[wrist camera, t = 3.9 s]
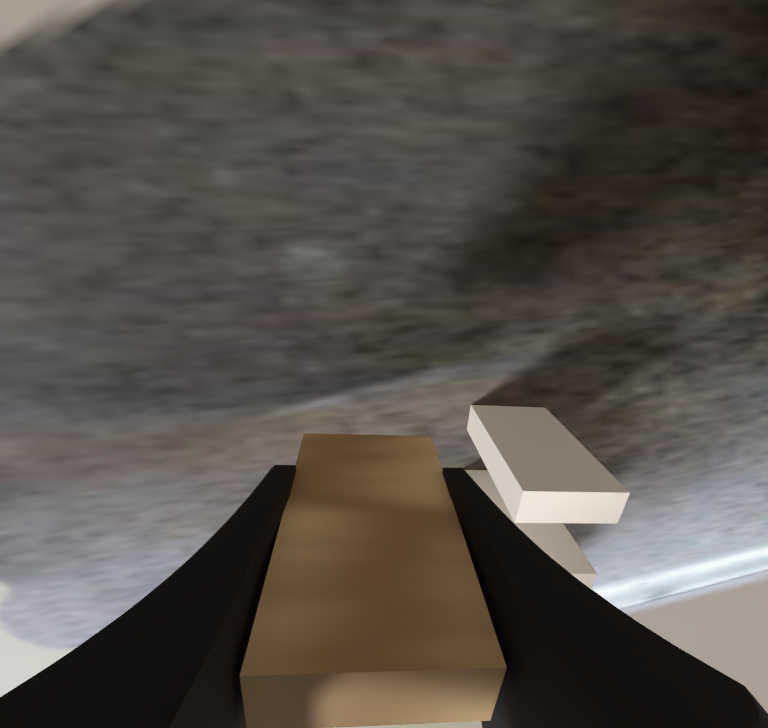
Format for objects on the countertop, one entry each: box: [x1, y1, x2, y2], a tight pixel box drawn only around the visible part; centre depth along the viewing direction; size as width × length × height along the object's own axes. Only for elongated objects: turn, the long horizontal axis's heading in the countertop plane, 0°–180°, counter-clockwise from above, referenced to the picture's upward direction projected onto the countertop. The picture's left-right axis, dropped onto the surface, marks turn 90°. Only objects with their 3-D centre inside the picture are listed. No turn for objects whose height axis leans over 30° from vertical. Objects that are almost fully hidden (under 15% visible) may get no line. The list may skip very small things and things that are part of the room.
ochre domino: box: [240, 434, 507, 728], centre depth 9 cm, size 4×2×7 cm, turn 86°
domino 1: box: [467, 405, 630, 524], centre depth 17 cm, size 4×2×7 cm, turn 86°
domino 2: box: [465, 470, 597, 589], centre depth 19 cm, size 4×2×7 cm, turn 86°
